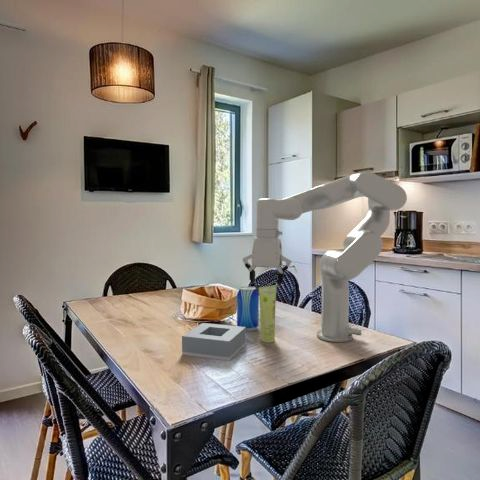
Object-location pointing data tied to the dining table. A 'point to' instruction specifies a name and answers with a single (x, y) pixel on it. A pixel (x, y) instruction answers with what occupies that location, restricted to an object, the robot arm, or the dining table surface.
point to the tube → (267, 313)
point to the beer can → (248, 308)
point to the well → (214, 341)
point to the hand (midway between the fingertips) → (266, 283)
